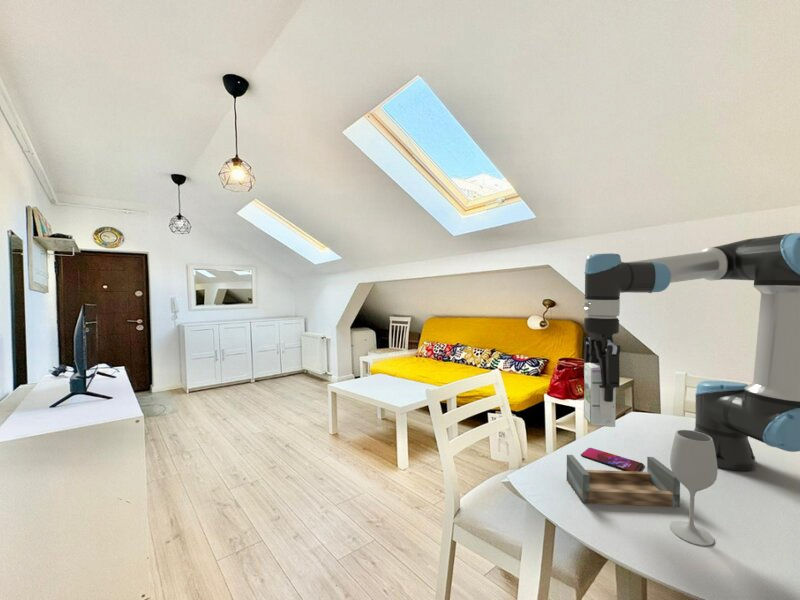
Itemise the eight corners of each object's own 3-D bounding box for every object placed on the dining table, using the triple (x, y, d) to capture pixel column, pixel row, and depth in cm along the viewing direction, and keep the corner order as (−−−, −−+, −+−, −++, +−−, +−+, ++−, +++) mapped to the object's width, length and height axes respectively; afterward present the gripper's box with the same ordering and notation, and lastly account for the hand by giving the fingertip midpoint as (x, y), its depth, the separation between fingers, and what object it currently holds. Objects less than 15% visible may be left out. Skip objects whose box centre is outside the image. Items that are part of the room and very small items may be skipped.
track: (652, 483, 94) (653, 457, 94) (679, 506, 84) (680, 477, 84) (566, 480, 96) (566, 454, 95) (582, 503, 86) (583, 474, 85)
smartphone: (589, 446, 114) (644, 463, 103) (589, 449, 114) (644, 466, 103) (579, 454, 109) (636, 473, 98) (579, 457, 109) (636, 476, 98)
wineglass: (659, 522, 78) (661, 428, 77) (691, 520, 79) (694, 427, 78) (690, 548, 71) (693, 444, 70) (725, 545, 71) (729, 442, 71)
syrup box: (616, 427, 86) (617, 367, 85) (589, 425, 87) (590, 366, 86) (607, 418, 91) (608, 362, 91) (582, 417, 93) (583, 361, 92)
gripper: (570, 313, 98) (568, 396, 99) (604, 320, 79) (602, 423, 80) (598, 313, 97) (597, 397, 98) (640, 320, 78) (637, 424, 79)
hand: (599, 408), depth 89 cm, fingers closed on syrup box, 6 cm apart
